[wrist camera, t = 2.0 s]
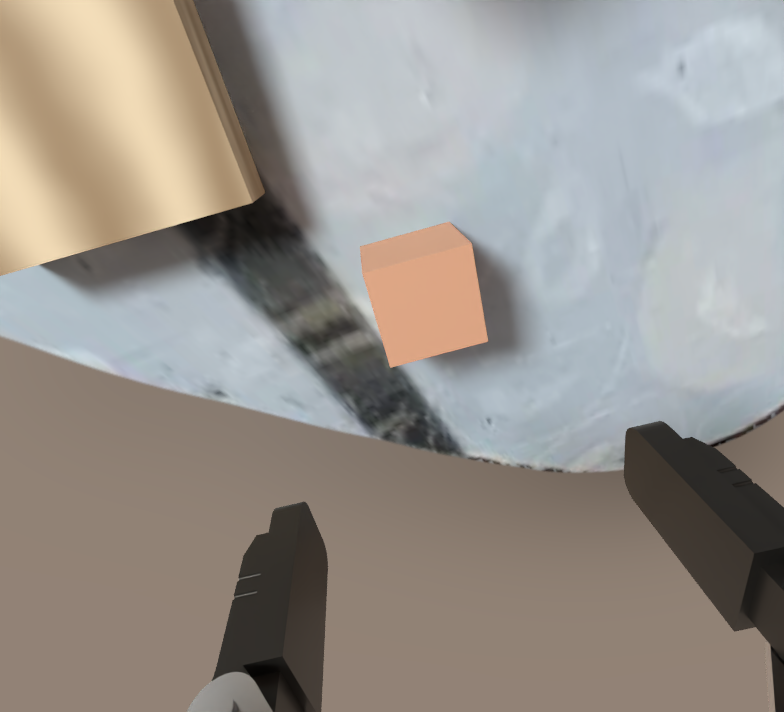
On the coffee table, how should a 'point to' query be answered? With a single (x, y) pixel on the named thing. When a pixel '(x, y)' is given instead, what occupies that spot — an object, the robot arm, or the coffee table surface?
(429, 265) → the terracotta cube
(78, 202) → the birch block
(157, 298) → the coffee table surface
